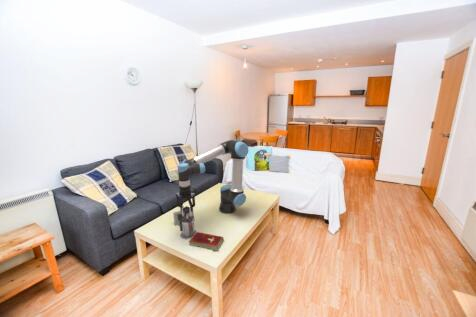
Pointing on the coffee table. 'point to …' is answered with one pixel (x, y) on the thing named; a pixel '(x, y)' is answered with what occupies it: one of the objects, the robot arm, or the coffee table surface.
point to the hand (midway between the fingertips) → (187, 215)
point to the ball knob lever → (186, 211)
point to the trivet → (186, 237)
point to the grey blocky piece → (187, 226)
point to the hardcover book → (206, 241)
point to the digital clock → (180, 216)
